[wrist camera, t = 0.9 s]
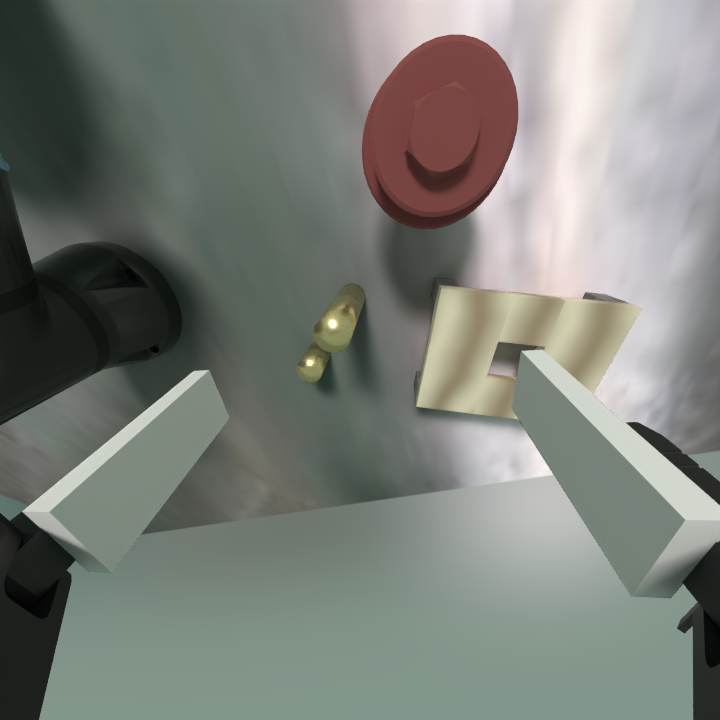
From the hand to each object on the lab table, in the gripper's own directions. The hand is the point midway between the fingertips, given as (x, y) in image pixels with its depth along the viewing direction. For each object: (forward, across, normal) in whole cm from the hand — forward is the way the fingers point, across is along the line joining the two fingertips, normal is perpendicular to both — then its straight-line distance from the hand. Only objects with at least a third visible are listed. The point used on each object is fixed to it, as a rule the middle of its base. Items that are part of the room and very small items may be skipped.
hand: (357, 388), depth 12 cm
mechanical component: (+22, +5, +10) cm, 25 cm away
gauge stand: (+22, +14, -9) cm, 27 cm away
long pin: (+22, -3, -2) cm, 22 cm away
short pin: (+22, -8, -9) cm, 25 cm away
